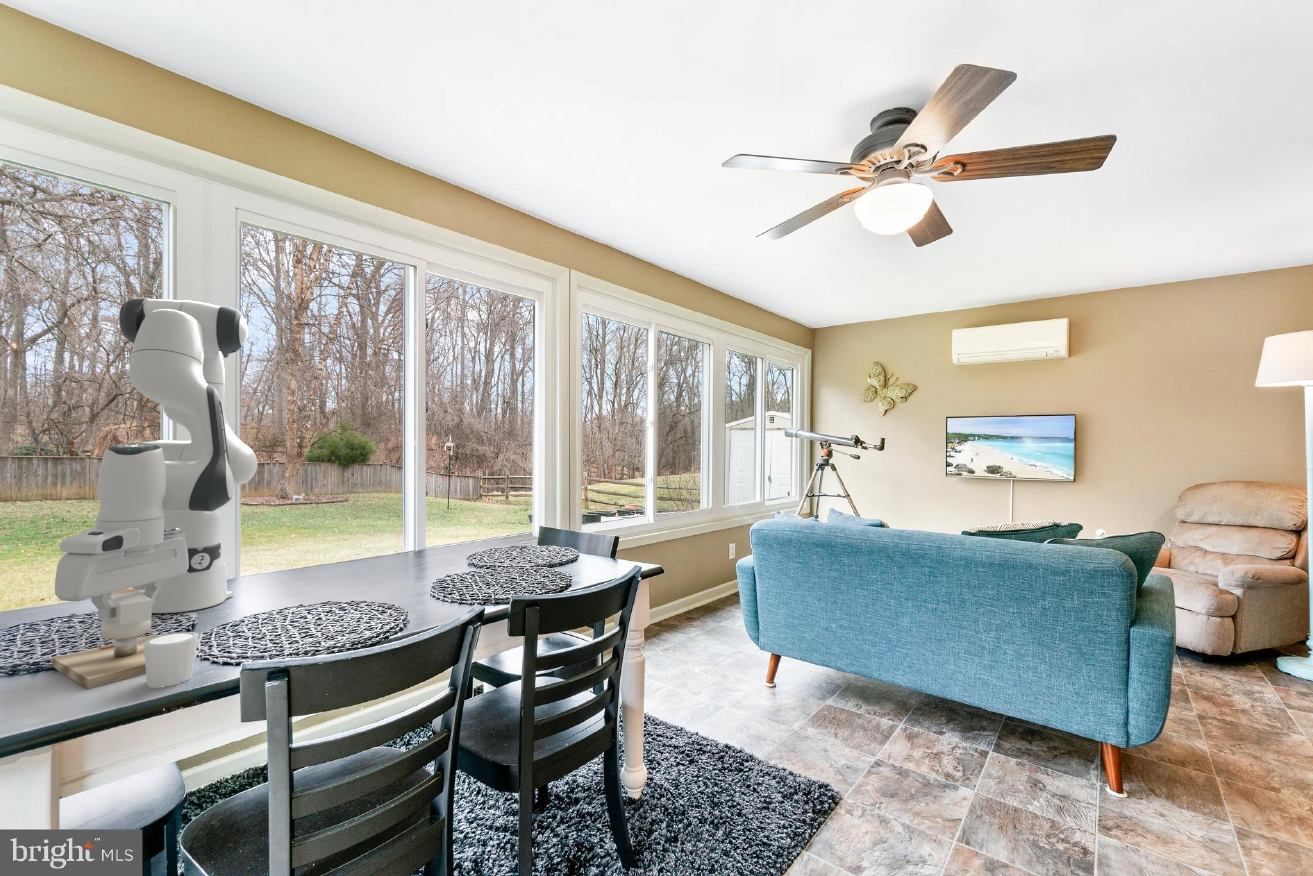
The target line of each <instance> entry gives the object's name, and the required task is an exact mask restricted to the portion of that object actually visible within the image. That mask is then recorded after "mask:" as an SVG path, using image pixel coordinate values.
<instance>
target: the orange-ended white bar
mask: <svg viewBox="0 0 1313 876" xmlns="http://www.w3.org/2000/svg"><path fill="white" fill-rule="evenodd" d="M108 602H109V604H110V605H111V607H115V608H116V610H115V617H114V618H110V619H107V620H101V621H100V622H101V625H100V626H101V627H100V639H103V640H114V639H123V638H130V637H135V636H138V637H139V636H141V635H144V634H145V635H146V634H147V633H149V632H151V631H152V614H153V613H152V599H150V598H148V597H147V596H145V595H144V594H142V593H141V592H139V591H138V590H137V589H135V588H129V589H125V590H121V591H117V592H113V593H112V594H111V599H109V600H108Z"/></svg>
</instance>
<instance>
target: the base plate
mask: <svg viewBox="0 0 1313 876" xmlns="http://www.w3.org/2000/svg"><path fill="white" fill-rule="evenodd" d="M157 636H159V635H158V634H150V635H147V636H141V637H138V641H137V653H136V654H135V655H132V656H128V657H123V658H115V657H114V642H113V643H110V644H104V645H100V646H98V647H94V648H89V649H85V650H80V651H77V652H71V653H67V654H62V655H59V656H53V657H52V658H51V666H52V665H53V667H52V668H54V669H55V670H57V671H58V672H60V673H62V674H63V675H65V676H66V677H68V678H70V679H72V680H74V681H75V682H76V683H78V684H80V685H81V686H83V687H84V688H86V689H87V690H89V689H93V688H96V687H99V686H102V685H106V684H110V683H115V682H118V681H122V680H126V679H128V678H133V677H136V676H140V675H144V674H146V665H145V653H144V642H145V641H147V640H149V639H151V638H153V637H157Z"/></svg>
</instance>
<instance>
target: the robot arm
mask: <svg viewBox="0 0 1313 876" xmlns="http://www.w3.org/2000/svg"><path fill="white" fill-rule="evenodd" d="M118 325H119V328H120V330H121V331H120V332H121V333H122V335H123V337H124V338H126V339H127V340H128V341H129V342H130V343H132V344H133V345H132V346H133V347H132V351H131V355H130V360H129V381H130V382H131V383H132V384H131V385H132V386H133V387H134V388H135V390H136V391H137V392H139V393H140V394H141V395H142V396H144V397H145V398H147V399H149V400H150V401H152V402H155V403H157V404H159V405H161V406H163V408H162V409H163V412H164V414H165V415H166V417H167V418H168V419H169V420H171V421H172V422H174V423H176V424H178V425H180V426H182V427H184V428H185V429H186V430H187V431H188V433H189V435H190V438H191V440H177V439H176V440H175V439H172V440H171V439H170V440H169V439H159V440H149V441H142V442H128V443H118V444H114V445H111V446H108V447H107V448H106V449H105V450H104V453H103V455H102V460H101V462H100V467H99V473H98V479H97V481H98V482H97V498H98V502H99V510H98V513H97V515H96V519H95V525H94V526H91V527H89V528H87V529H85V530H83V531H81V532H78V533H77V534H74V535H72V536H69V537H67V538H64V539H63V540H62V541H61V542H60V545H59V550H60V552H61V553H65V555H63V556H62V557H61V558H60V559H59V560H58V564H57V566H56V571H55V579H54V580H55V581H54V595H55V597H57V598H58V599H59V600H60V601H64V602H81V601H85V600H88V599H90V600H91V603H92V604H93V606H95V608H96V609H97V610H98V611H97V612H98V615H97V616H98V619H99V620H100V621H102V620H107V619H110V618H114V617H115V610H116V608H115V607H111V605H110V604H109V602H108V600H109V599H111V594H112V593H113V592H117V591H121V590H125V589H132V588H135V589H137V590H138V591H139V592H141V593H142V594H144V595H145V596H147V597H148V598H150V599H152V614H168V613H169V614H172V613H183V612H189V611H190V612H191V611H197V610H201V609H205V608H206V609H207V608H210V607H214V606H217V605H219V604H221V603H223V602H224V601H226V600H227V599H228V598H231V597H233V595H234V592H233V591H230V590H228V581H227V580H228V579H227V578H228V577H227V565H226V563H224V562H222V560H220V558H221V556H222V555H221V553H222V547H221V542H220V541H219V539H220V523H221V522H220V520H221V515H220V512H219V511H218V509H220V508H221V507H224V506H225V505H226V504H228V503H229V502H230V501H231V500H232V498H233V495H234V491H235V486H238V485H245V484H247V483H248V482H250V480H252V479H253V477H254V476H255V474H256V472H257V470H258V458H257V455H256V453H255V451H254V450H253V449H252V448H251V447H250V446H249V445H248V444H245V443H244V442H243V441H242V440H241V439H239V438H238V437H237V435H236V434H235V433H234V431H233V430H232V429H231V426H230V424H229V422H228V419H227V416H226V402H225V393H226V392H225V387H226V386H225V378H226V377H225V375H226V374H225V363H224V358H225V359H227V358H229V356H230V354H233V353H237V352H238V351H239V350H241V349H242V348H243V347H244V345H245V343H246V341H247V338H248V333H249V329H248V324H247V321H246V318H245V317H244V315H243V313H242V312H241V311H240V310H239V309H237V308H234V307H230V306H227V305H215V304H212V303H206V302H201V301H195V300H194V301H193V300H180V299H179V300H177V299H162V298H161V299H157V298H156V299H155V298H153V299H152V298H150V297H134V298H130V299H128V300H127V301H125V302H124V303H122V305H121V307H120V311H119V314H118ZM223 357H224V358H223Z"/></svg>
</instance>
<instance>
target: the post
mask: <svg viewBox="0 0 1313 876" xmlns="http://www.w3.org/2000/svg"><path fill="white" fill-rule="evenodd" d="M138 638H139V636H135V637H130V638H123V639H113V643H114V657H115V658H123V657H128V656H132V655H135V654H136V653H137V641H138Z"/></svg>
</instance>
